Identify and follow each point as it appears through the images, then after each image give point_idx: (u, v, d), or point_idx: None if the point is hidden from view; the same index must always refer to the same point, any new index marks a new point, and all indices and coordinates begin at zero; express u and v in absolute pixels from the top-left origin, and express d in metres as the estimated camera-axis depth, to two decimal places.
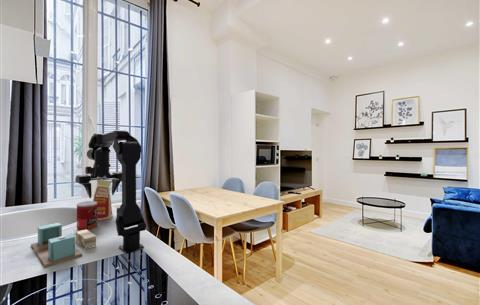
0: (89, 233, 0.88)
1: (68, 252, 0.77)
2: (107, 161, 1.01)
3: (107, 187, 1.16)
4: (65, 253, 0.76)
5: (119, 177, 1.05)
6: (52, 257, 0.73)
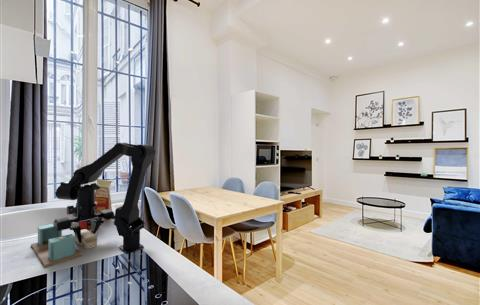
0: (89, 232, 0.88)
1: (68, 252, 0.77)
2: (94, 199, 0.88)
3: (107, 187, 1.16)
4: (65, 253, 0.76)
5: (106, 217, 0.90)
6: (52, 257, 0.73)
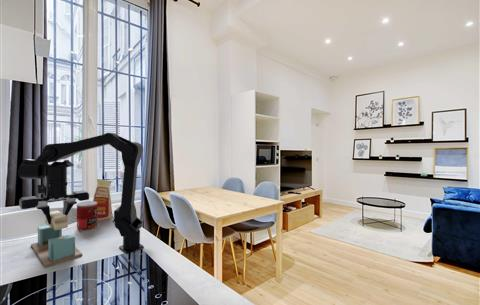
0: (60, 214, 0.82)
1: (68, 252, 0.77)
2: (66, 178, 0.82)
3: (107, 187, 1.16)
4: (65, 253, 0.76)
5: (80, 198, 0.84)
6: (52, 257, 0.73)
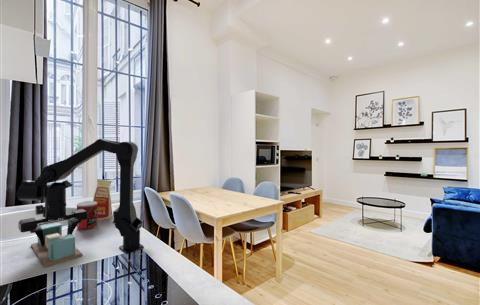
0: None
1: (68, 252, 0.77)
2: (65, 198, 0.82)
3: (107, 187, 1.16)
4: (65, 253, 0.76)
5: (79, 218, 0.84)
6: (52, 257, 0.73)
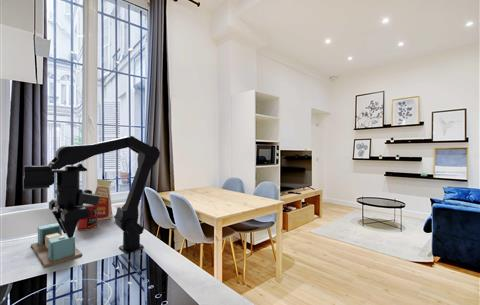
0: None
1: (68, 252, 0.77)
2: None
3: (107, 187, 1.16)
4: (65, 253, 0.76)
5: (61, 216, 0.65)
6: (52, 257, 0.73)
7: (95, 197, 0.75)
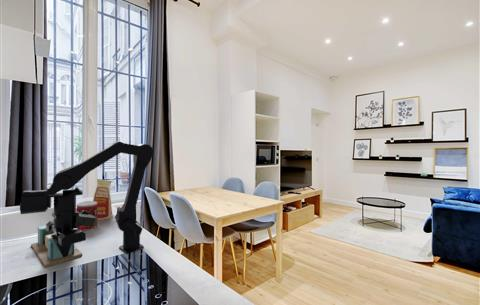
0: None
1: None
2: None
3: (107, 187, 1.16)
4: None
5: (58, 240, 0.68)
6: (51, 256, 0.74)
7: (91, 219, 0.77)
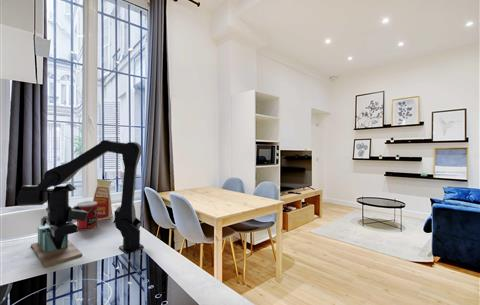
0: None
1: None
2: (68, 202, 0.80)
3: (107, 187, 1.16)
4: None
5: (52, 232, 0.72)
6: (46, 249, 0.78)
7: (83, 213, 0.82)
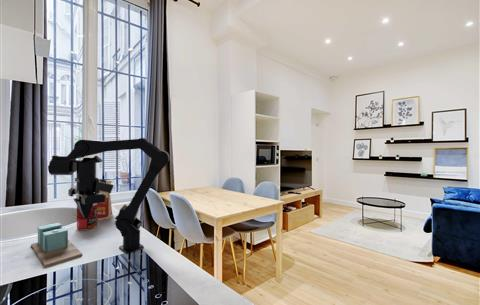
0: None
1: (61, 244, 0.82)
2: None
3: None
4: (58, 245, 0.81)
5: (82, 200, 0.75)
6: (46, 249, 0.78)
7: (109, 185, 0.85)
